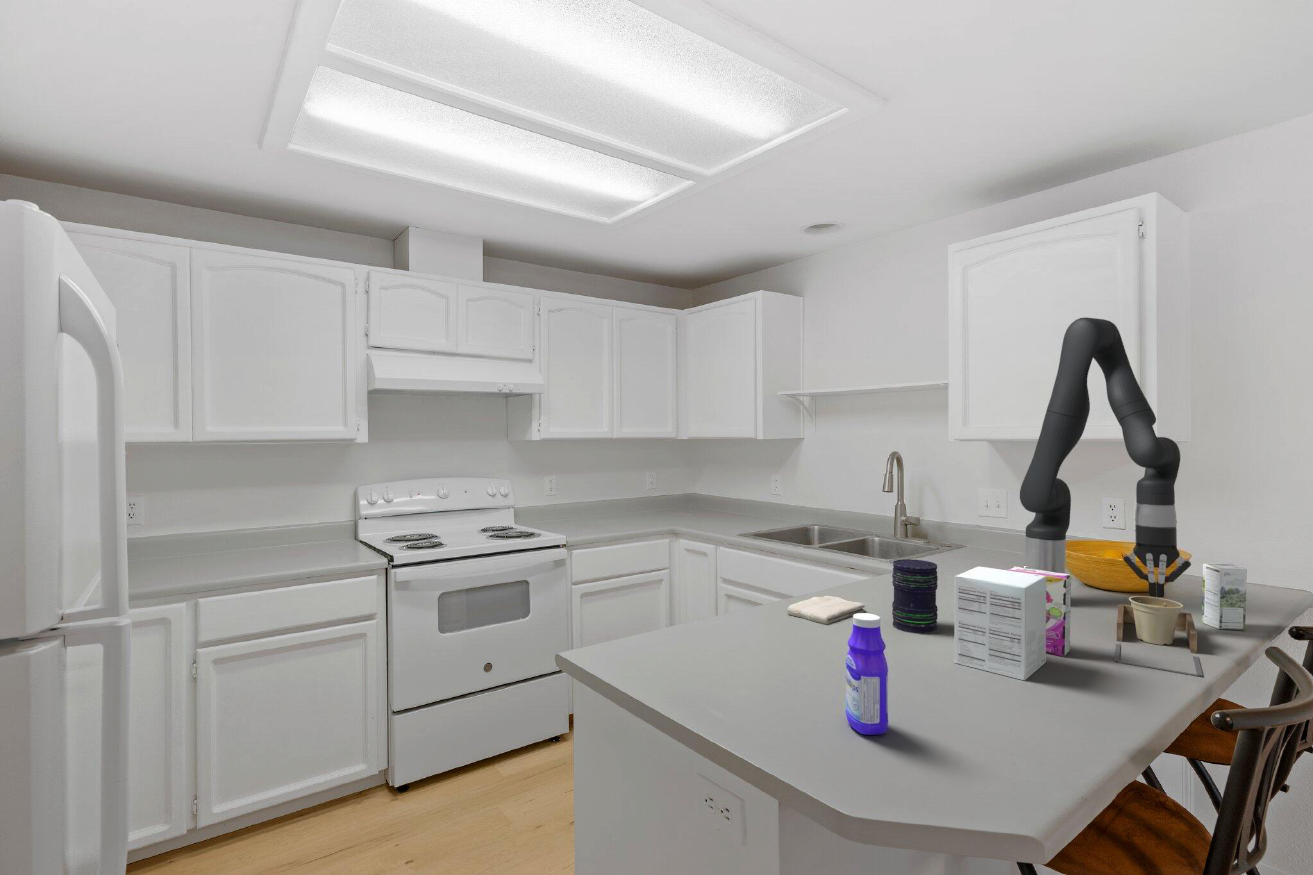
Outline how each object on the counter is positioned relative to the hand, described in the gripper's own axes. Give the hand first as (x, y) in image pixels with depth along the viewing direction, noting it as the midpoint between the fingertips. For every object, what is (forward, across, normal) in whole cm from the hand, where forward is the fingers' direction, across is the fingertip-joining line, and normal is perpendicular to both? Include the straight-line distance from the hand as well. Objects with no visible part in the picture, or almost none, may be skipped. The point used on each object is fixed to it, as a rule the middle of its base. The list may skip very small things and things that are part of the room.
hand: (1156, 598), depth 149 cm
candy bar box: (+7, -20, -31) cm, 38 cm away
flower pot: (+8, 0, -10) cm, 12 cm away
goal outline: (+7, 0, -24) cm, 25 cm away
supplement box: (+7, -26, -45) cm, 52 cm away
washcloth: (+7, -66, -32) cm, 74 cm away
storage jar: (+7, -46, -31) cm, 55 cm away
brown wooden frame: (+7, 0, -6) cm, 9 cm away
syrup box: (+8, +12, +12) cm, 19 cm away
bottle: (+8, -38, -88) cm, 96 cm away
